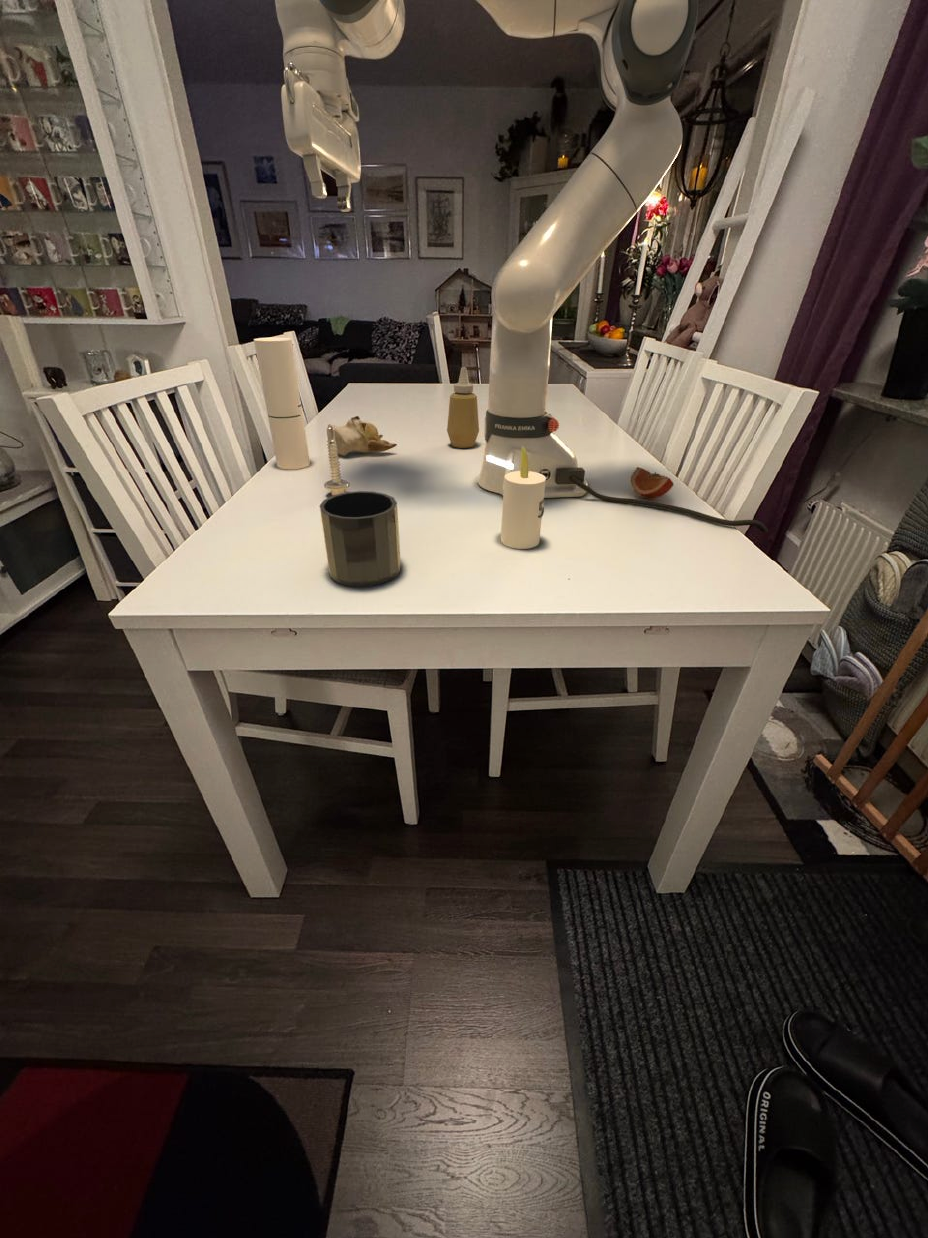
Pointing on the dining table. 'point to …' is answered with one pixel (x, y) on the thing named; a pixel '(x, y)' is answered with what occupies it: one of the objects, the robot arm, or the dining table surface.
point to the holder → (361, 537)
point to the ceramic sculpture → (359, 437)
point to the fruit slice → (650, 484)
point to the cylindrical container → (282, 401)
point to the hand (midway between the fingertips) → (332, 204)
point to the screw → (334, 466)
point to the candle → (522, 506)
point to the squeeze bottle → (463, 414)
